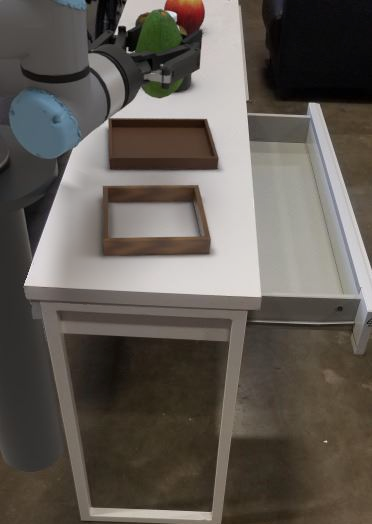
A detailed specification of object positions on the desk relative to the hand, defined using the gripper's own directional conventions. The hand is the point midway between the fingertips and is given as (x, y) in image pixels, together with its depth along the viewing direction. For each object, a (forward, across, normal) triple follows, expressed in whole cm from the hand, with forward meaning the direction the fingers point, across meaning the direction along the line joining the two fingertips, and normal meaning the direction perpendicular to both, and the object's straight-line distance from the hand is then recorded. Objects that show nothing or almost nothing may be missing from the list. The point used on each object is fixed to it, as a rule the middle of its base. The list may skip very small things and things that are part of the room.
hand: (174, 34), depth 88 cm
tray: (+5, -4, -21) cm, 22 cm away
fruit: (+69, -27, -21) cm, 77 cm away
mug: (+33, -17, -21) cm, 43 cm away
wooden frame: (-19, +6, -21) cm, 29 cm away
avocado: (-5, 0, -8) cm, 9 cm away
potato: (+53, -27, -21) cm, 63 cm away
